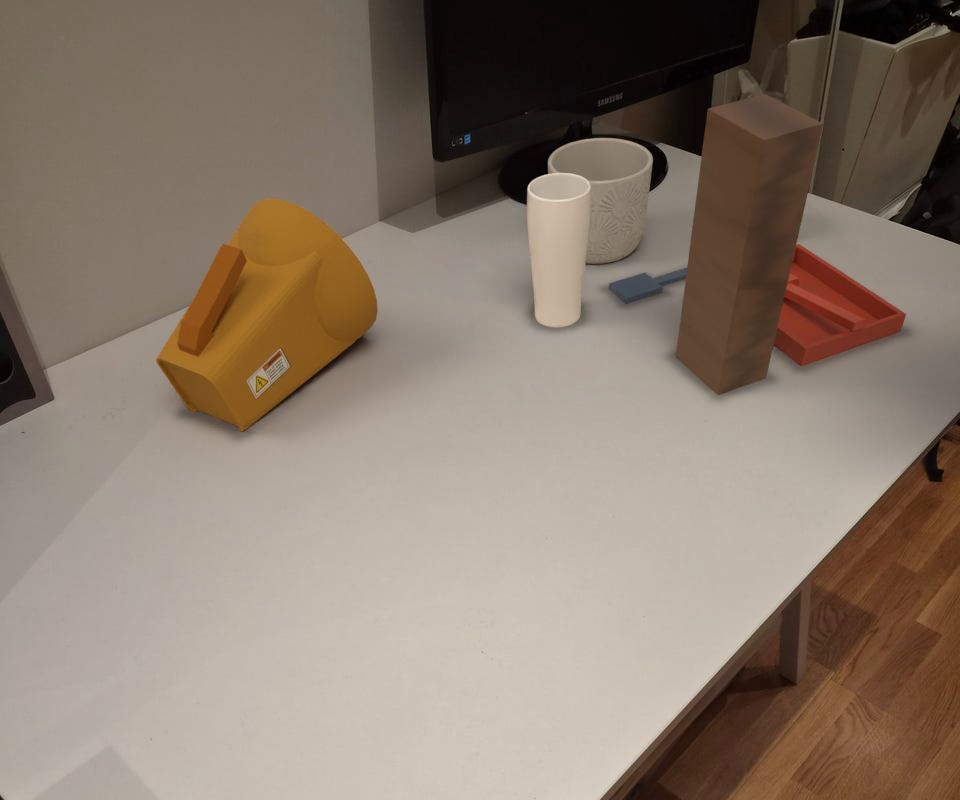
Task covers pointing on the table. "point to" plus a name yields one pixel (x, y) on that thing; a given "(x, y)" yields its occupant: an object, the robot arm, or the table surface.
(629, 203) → the planter
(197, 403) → the flared yellow plastic housing
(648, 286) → the blue spoon
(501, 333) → the table surface
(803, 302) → the red spoon
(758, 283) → the stand
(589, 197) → the drinking glass
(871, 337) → the red tray
